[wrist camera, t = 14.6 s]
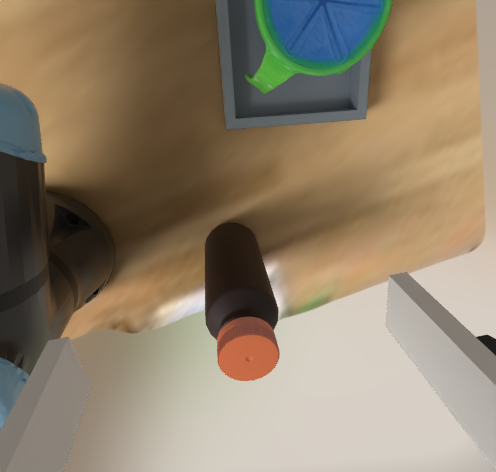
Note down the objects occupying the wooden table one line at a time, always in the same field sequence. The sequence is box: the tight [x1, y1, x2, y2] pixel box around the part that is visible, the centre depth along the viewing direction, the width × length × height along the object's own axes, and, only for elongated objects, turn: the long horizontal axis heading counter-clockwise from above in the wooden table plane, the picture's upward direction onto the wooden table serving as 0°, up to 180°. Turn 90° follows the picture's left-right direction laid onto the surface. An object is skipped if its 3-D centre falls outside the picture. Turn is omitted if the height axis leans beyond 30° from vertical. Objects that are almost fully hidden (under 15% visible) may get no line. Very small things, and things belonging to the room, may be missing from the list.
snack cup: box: [245, 0, 392, 94], centre depth 30 cm, size 16×10×10 cm
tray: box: [215, 0, 372, 130], centre depth 34 cm, size 15×20×3 cm
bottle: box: [205, 223, 279, 381], centre depth 36 cm, size 7×7×20 cm
